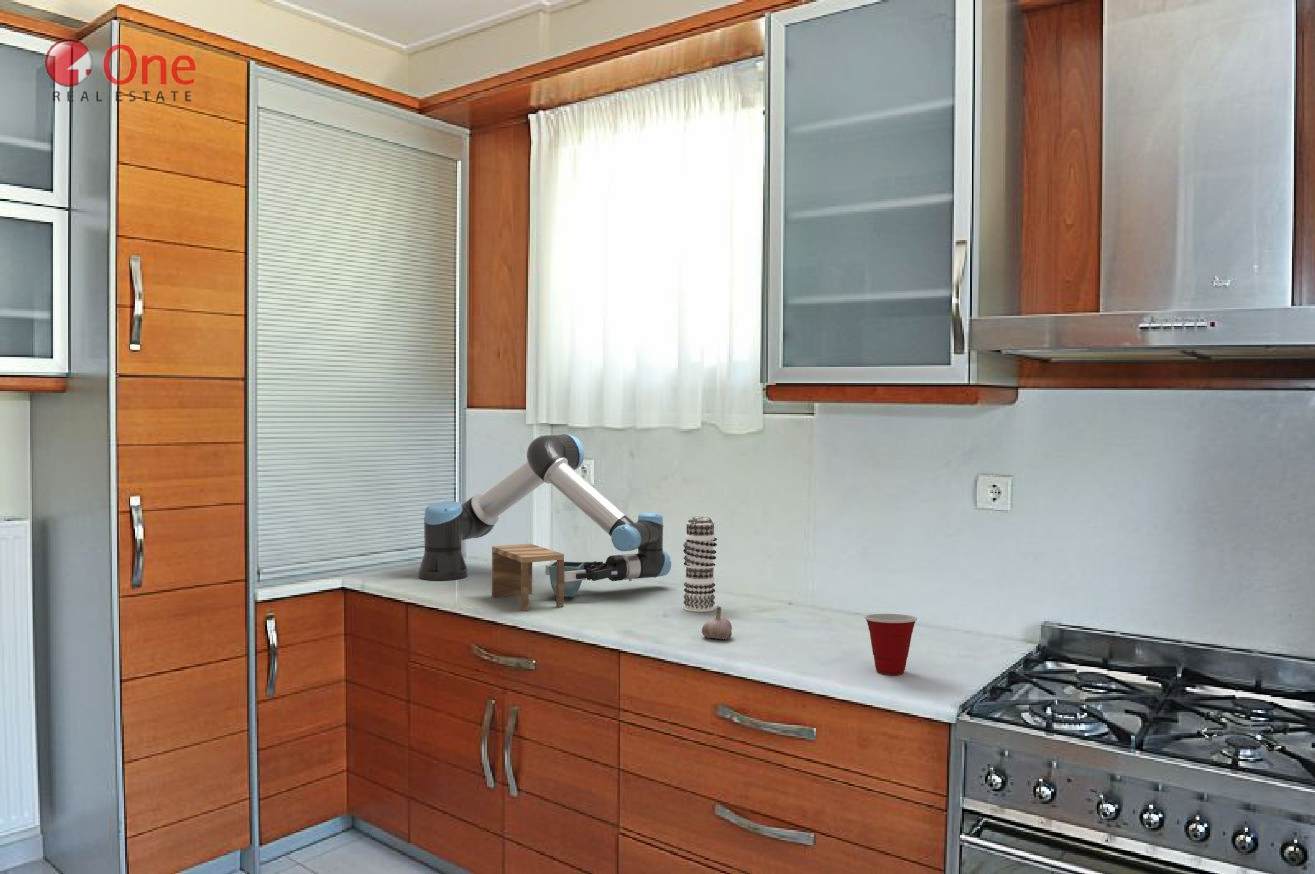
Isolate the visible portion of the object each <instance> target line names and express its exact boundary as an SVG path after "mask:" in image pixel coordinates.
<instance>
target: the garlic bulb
mask: <svg viewBox="0 0 1315 874" xmlns="http://www.w3.org/2000/svg"><path fill="white" fill-rule="evenodd" d="M715 609H716V611H715V612H716V613H715V616H716V617H715V618H713V619H712V620H708V621H707V622H705V623H704V624H703V626H702V629H701V634H702V636H703V637H704V638H706V637H707V639H710V638H715V639H714V640H722V639H723V640H724V639H725V640H724V641H729V640H730V639H731V638H732V634H733V633H732V630H733V626H732V623H731V622H730V620H729V619H728V618H724V617H722V606H720V605H716V608H715Z"/></svg>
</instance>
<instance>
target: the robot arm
mask: <svg viewBox="0 0 1315 874" xmlns="http://www.w3.org/2000/svg"><path fill="white" fill-rule="evenodd" d="M584 458H585V450H584V446H583V444H582V442H581V441H580V439H578V438H577V437H576V436H574V435H572V434H567V433H562V434H554V435H553V434H552V435H540V436H538V437H536V438H535V439H533V440H532V441H531V442H530V443H529V446H528V448H527V450H526V462H525V463H523V464H522V465H520V467H518V468H517V469H516V470H514V471H513V472H511V473H510V474H509V475H507V476H506V477H505V478H504V479H502V480H501V481H500V482H498V483H497V484H496V485H494V486H493V487H491V488H490V489H489V490H488V491H486V492H484V493H483V494H480V493H477V494H475V495H473V496H472V497H470V498H469V499H468V500H466V501H465V502H464V503H462V504H461V502H459V501H443V502H441V501H440V502H436V503H435V502H434V503H431V504H429V505H428V506H427V507H425V510H424V518H423V521H424V525H423V527H424V531H423V532H424V534H423V535H424V553H423V557H422V559H421V561H420V566H419V568H418V578H420V579H422V580H426V581H427V580H429V581H453V580H459V579H460V580H461V579H464V578H466V577H467V576H468V567H467V563H466V561H465V558H464V555H463V552H462V548H463V547H462V546H463V545H462V544H463V543H462V542H463V541H465V540H471V539H479V538H482V537H484V536H487V535H488V534H489V533H490V532H492V531H493V529H494V527H495V525H496V524H497V522H498V521H499V516H500V515H502V514H503V513H504V512H506V511H507V510H508V509H510V508H511V507H513V506H514V505H515V504H517V503H519V502H520V501H521V500H522V499H524V498H525V497H526V496H528V495H529V494H530V493H532V492H533V491H534V490H536V489H537V488H539V487H540V486H541V485H542V484H544V483H545V484H547V485H548V484H551V485H553V487H555V489H557V490H558V491H559V492H560V493H561V494H563V495H564V496H565V497H566V498H567V499H568V500H569V501H571V502H572V503H573V504H574V505H575V506H576V507H577V508H578V509H579V510H581V511H582V512H583V513H584V514H585V515H586V516H588V517H589V519H591V520H592V521H593V522H595V524H596V525H597V526H599V528H601V529H602V530H603V531H604V532H605V533H607V535H609V536H610V537H611V538H610V539H611V543H612V545H613V547H614V548H615V549H616V550H617V551H620V552H632V551H635V550H638V551H637V553H626V554H624V553H623V554H615V555H609V556H608V557H607V558H606V561H605V562H603V561H597V560H594V561H583V562H584V570H579V571H568V572H564V582H569V581H580V580H582V581H586V580H587V581H593V582H595V581H600V580H605V579H608V580H609V581H611V582H618V581H623V580H624V581H626V580H628V581H629V582H632V581H633V580H638V579H647V578H648V579H649V578H650V579H651V578H659V577H664V576H666V575H668V574H670V571H671V569H672V560H671V557H670V554H669V553H668V552H667V551H664V550H663V549H664V547H663V546H664V543H663V542H664V541H663V539H664V517H663V515H662V513H660V512H640V513H639V514H638V516H637V517H638V518H637V522H634V521H633V520H632V519H631V518H630V517H628V516H627V515H626V514H625V513H624V512H623V511H622V510H621V509H619V508H618V507H617V506H616V505H615V504H614V503H612V502H611V501H610V500H609V499H608V498H607V497H606V496H605V495H603V493H601V492H600V491H599V490H597V489H596V488H595V486H593V485H592V484H591V483H590V482H589V481H588V480H586V479H585V478H584V477H583V476H582V475H580V474H579V473H578V472H577V471H576V470H578V469H579V468H580V467H581V466H582V464H583V462H584V460H585V459H584ZM549 565H550V564H549ZM549 565H548V564H547V565H545V575H546V576H550V573H549Z"/></svg>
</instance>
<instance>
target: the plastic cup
mask: <svg viewBox="0 0 1315 874" xmlns="http://www.w3.org/2000/svg"><path fill="white" fill-rule="evenodd" d="M863 617H864V619H865V620H866V623H867V626H868V631H869V637H870V645H871V649H872V651H871V652H872V655H873V660H874V661H873V662H874V667H875V671H876V672H877V673H878V672H879V673H878V674H880V673H881V674H880V675H884V674H890V675H889V676H899V675H898V674H901V675H904V673H905V670H906V668H907V667H906V666H907V660H908V657H909V653H910V648H911V642H912V636H913V632H914V628H915V624H916V621H917V620H918V617H917V616H915V615H910V614H903V613H902V614H901V613H873V614H872V613H871V614H866V615H864V616H863Z"/></svg>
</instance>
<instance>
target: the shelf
mask: <svg viewBox="0 0 1315 874" xmlns="http://www.w3.org/2000/svg"><path fill="white" fill-rule="evenodd" d="M553 561H557V582H556V594H555V596H556V597H555V598H556V602H555V606H556V607H557V606H558V607H557V608H562V607H561V606H564V603H565V602H564V601H565V596H564V562H565V553H563V552H562V553H561V552H559V551H555V550H553V549H552V550H551V549H548V548H545V547H543V546H539V545H535V544H532V543H523V544H507V545H496V546H495V545H494V546H491V597H492V598H500V597H499V596H503V597H512V596H517V595H518V596H520V611H521V612H528V611H529V595H530V594H531V595H532V594H533V563H538V562H553ZM564 607H565V606H564Z"/></svg>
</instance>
